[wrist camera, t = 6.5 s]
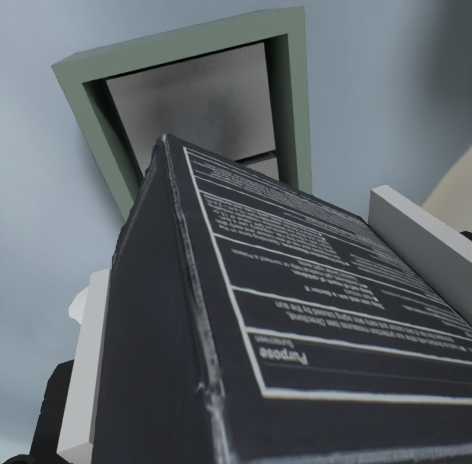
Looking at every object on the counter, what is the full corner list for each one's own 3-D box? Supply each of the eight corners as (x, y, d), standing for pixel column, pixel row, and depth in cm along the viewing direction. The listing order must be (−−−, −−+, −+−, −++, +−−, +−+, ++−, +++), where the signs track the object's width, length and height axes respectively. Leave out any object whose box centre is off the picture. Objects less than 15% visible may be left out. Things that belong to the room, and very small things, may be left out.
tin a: (241, 38, 22) (263, 42, 18) (254, 128, 26) (275, 149, 22) (112, 69, 21) (106, 80, 17) (145, 158, 25) (146, 184, 21)
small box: (105, 265, 14) (46, 665, 5) (160, 125, 11) (221, 470, 3) (294, 306, 18) (425, 551, 10) (363, 214, 16) (622, 441, 7)
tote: (262, 9, 22) (304, 6, 16) (283, 203, 31) (314, 243, 26) (75, 53, 21) (50, 65, 15) (155, 241, 30) (158, 292, 24)
